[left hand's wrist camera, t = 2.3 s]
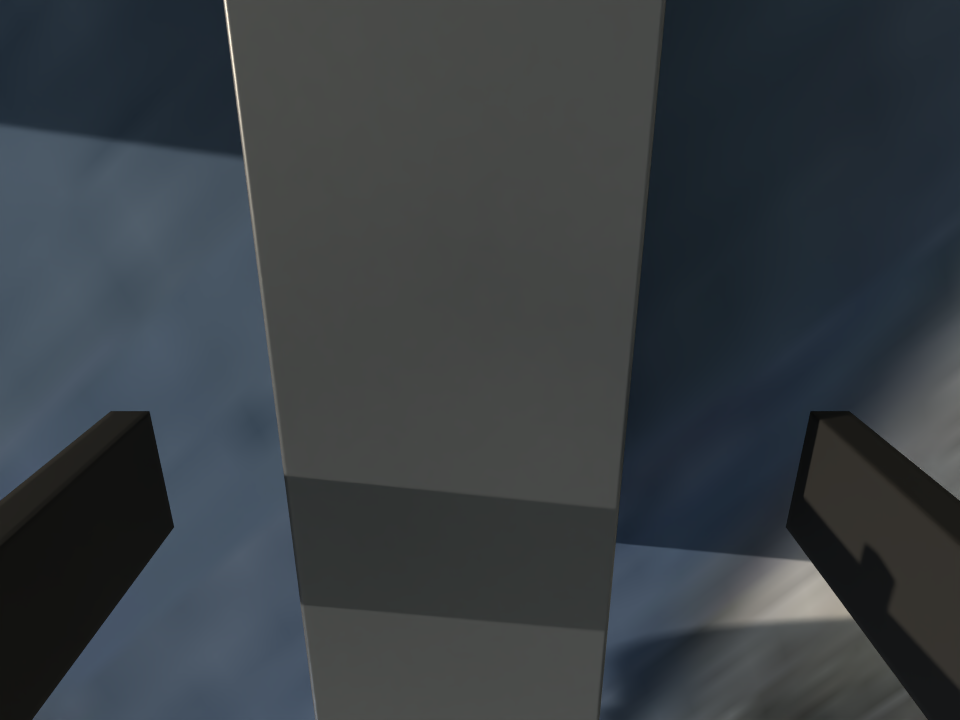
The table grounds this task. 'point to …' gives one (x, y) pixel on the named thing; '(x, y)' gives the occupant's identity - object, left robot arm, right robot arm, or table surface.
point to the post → (450, 333)
